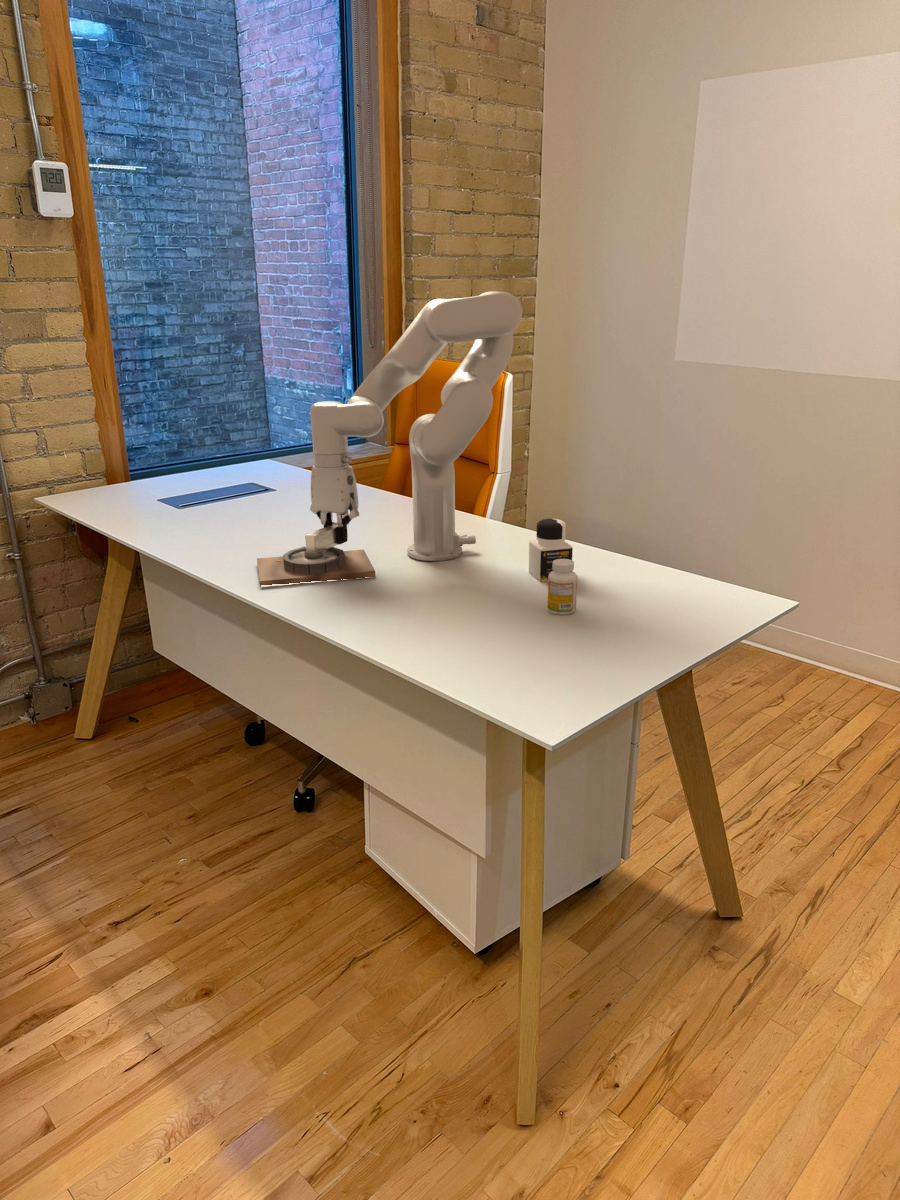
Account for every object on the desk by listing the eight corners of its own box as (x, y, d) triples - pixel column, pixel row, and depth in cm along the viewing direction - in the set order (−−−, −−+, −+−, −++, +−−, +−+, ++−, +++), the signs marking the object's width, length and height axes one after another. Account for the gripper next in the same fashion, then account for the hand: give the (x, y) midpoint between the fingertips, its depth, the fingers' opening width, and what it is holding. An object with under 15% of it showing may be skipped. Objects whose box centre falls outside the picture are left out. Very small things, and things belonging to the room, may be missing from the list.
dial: (318, 573, 181) (315, 542, 178) (281, 566, 185) (279, 536, 183) (360, 554, 193) (358, 525, 190) (324, 548, 197) (323, 520, 195)
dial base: (363, 555, 198) (363, 540, 196) (375, 577, 183) (374, 560, 182) (257, 564, 192) (256, 548, 191) (260, 588, 178) (258, 571, 176)
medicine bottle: (540, 582, 179) (541, 526, 175) (528, 571, 185) (529, 517, 181) (571, 579, 181) (574, 523, 176) (559, 568, 187) (560, 515, 183)
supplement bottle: (557, 603, 167) (558, 555, 164) (581, 609, 164) (583, 560, 160) (541, 611, 163) (543, 562, 160) (566, 617, 160) (567, 568, 157)
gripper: (371, 460, 185) (375, 542, 192) (312, 454, 193) (318, 533, 199) (351, 466, 179) (355, 551, 186) (290, 460, 187) (297, 541, 193)
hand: (336, 541), depth 192 cm, fingers closed on dial, 2 cm apart
